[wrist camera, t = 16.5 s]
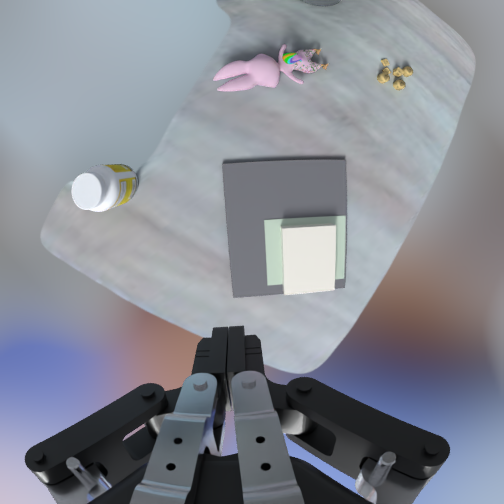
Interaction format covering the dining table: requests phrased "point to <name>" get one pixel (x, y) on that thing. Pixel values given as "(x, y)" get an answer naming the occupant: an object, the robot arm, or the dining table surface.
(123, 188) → the supplement bottle
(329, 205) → the mat
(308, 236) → the tile
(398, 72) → the yellow speckled pebbles
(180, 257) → the dining table surface
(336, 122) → the dining table surface
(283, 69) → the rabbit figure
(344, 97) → the dining table surface
